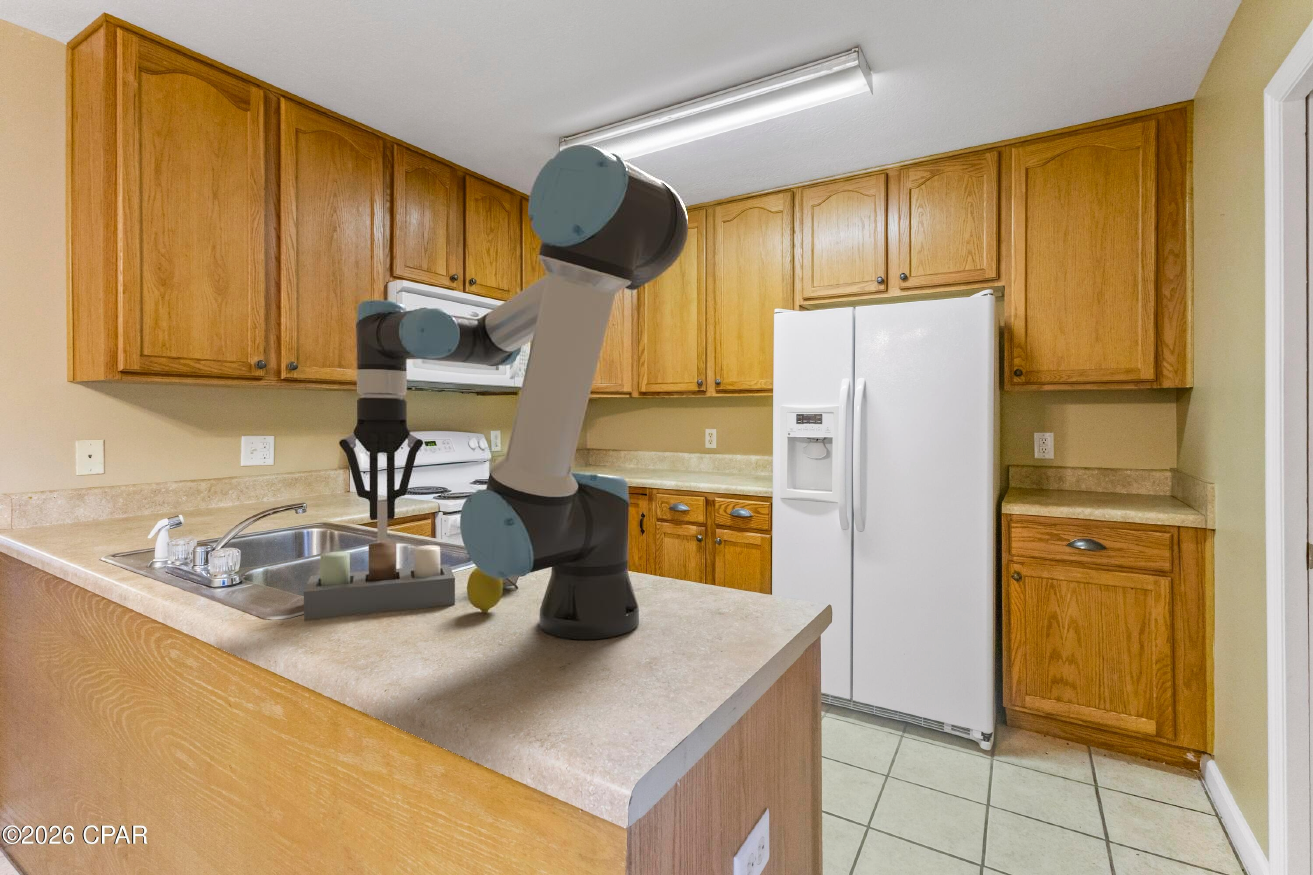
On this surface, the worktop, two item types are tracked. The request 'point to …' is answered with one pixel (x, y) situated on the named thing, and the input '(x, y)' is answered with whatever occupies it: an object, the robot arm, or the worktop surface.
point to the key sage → (335, 568)
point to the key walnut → (382, 561)
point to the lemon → (483, 590)
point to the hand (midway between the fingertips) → (382, 538)
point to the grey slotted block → (378, 594)
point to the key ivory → (426, 561)
